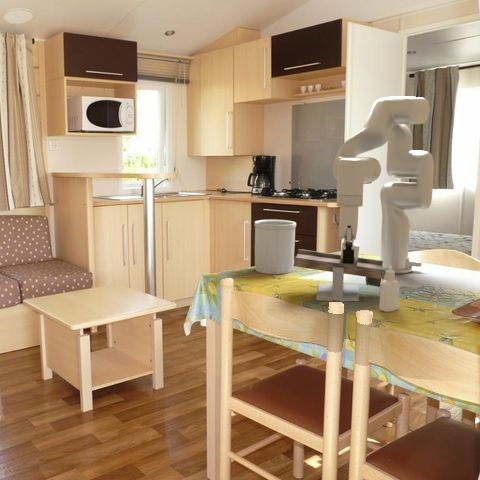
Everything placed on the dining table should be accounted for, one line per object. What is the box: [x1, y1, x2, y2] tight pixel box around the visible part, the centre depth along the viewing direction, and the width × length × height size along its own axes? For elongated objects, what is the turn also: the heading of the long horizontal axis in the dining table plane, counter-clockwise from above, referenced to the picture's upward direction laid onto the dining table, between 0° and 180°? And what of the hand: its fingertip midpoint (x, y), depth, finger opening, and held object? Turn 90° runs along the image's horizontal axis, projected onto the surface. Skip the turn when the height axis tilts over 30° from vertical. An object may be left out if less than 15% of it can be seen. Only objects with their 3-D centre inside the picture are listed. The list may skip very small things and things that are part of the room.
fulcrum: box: [315, 267, 360, 302], centre depth 175 cm, size 12×17×10 cm
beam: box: [293, 248, 386, 288], centre depth 175 cm, size 26×14×6 cm, turn 80°
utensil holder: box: [254, 219, 297, 275], centre depth 208 cm, size 15×15×18 cm
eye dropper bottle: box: [378, 266, 400, 313], centre depth 158 cm, size 4×6×12 cm
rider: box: [340, 241, 360, 266], centre depth 174 cm, size 5×5×6 cm
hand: (348, 260), depth 174 cm, fingers closed on rider, 5 cm apart
